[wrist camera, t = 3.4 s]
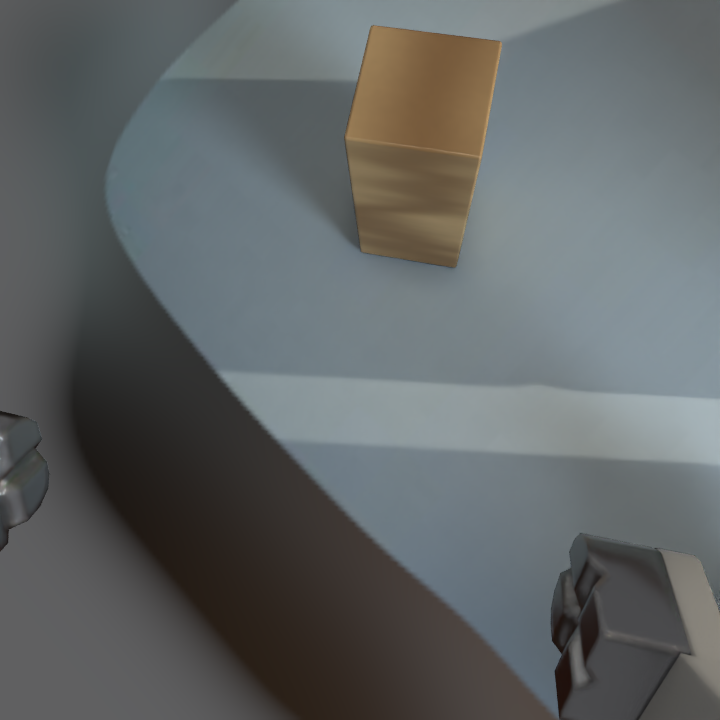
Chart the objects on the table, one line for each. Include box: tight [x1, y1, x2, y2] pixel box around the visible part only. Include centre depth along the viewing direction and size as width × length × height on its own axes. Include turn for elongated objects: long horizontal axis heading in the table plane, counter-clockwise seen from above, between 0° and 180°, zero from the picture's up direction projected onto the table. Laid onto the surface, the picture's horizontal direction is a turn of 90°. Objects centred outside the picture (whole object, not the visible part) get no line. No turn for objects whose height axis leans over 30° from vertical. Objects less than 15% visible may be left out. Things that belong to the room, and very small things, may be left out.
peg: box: [344, 25, 502, 267], centre depth 22 cm, size 4×4×8 cm
